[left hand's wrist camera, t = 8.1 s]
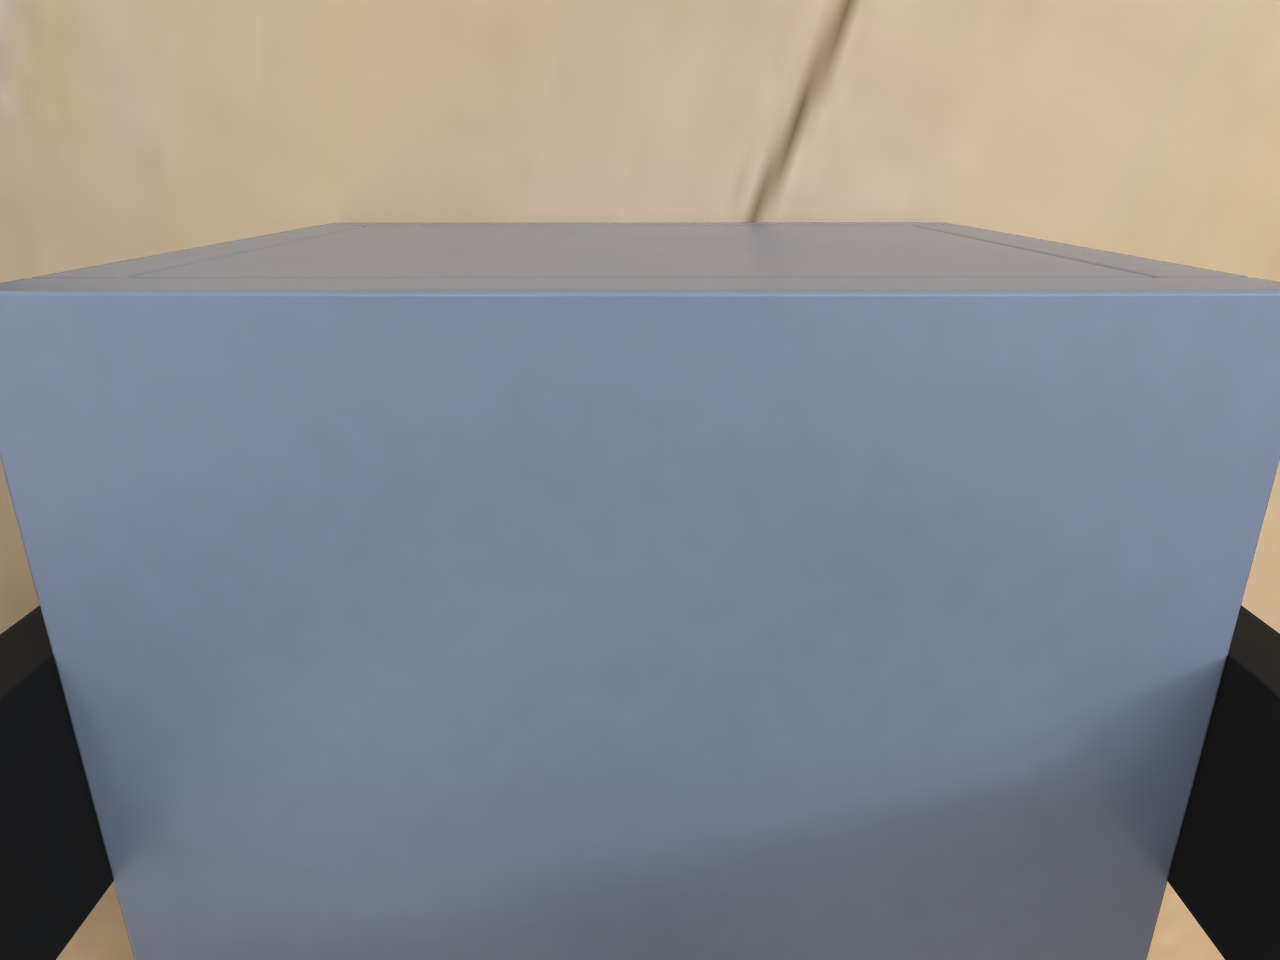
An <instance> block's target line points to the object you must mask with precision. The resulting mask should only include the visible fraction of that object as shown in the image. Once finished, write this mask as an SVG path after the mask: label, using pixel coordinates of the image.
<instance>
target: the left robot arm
mask: <svg viewBox="0 0 1280 960" xmlns="http://www.w3.org/2000/svg"><path fill="white" fill-rule="evenodd" d="M113 881H114V880H113V877H112V873H111V869H110V865H109V862H108V858H107V854H106V850H105V847H104V843H103V839H102V835H101V832H100V828H99V824H98V820H97V817H96V813H95V809H94V805H93V802H92V798H91V794H90V791H89V787H88V783H87V779H86V776H85V772H84V768H83V764H82V761H81V757H80V753H79V749H78V746H77V742H76V738H75V734H74V731H73V727H72V723H71V719H70V716H69V712H68V708H67V704H66V701H65V697H64V693H63V689H62V686H61V682H60V678H59V675H58V671H57V667H56V663H55V660H54V656H53V652H52V648H51V645H50V641H49V637H48V633H47V630H46V626H45V622H44V618H43V615H42V611H41V607H40V606H38V607H37V608H36V609H34V610H33V611H32V612H30V613H29V614H28V615H26V616H25V617H24V618H22V619H21V620H20V621H18V622H17V623H15V624H14V625H13V626H11V627H10V628H9V629H7V630H6V631H5V632H3V633H2V634H1V635H0V960H56V959H57V957H58V956H59V954H60V953H61V952H62V950H63V949H64V948H65V946H66V945H67V944H68V942H69V941H70V939H71V938H72V937H73V935H74V934H75V933H76V931H77V930H78V928H79V927H80V926H81V924H82V923H83V922H84V920H85V919H86V918H87V916H88V915H89V913H90V912H91V911H92V909H93V908H94V907H95V905H96V904H97V903H98V901H99V900H100V898H101V897H102V896H103V894H104V893H105V892H106V890H107V889H108V888H109V886H110V885H111V883H112V882H113ZM1167 881H1168V882H1169V883H1170V885H1171V886H1172V888H1173V889H1174V890H1175V892H1176V893H1177V894H1178V896H1179V897H1180V898H1181V900H1182V901H1183V903H1184V904H1185V905H1186V907H1187V908H1188V909H1189V911H1190V912H1191V913H1192V915H1193V916H1194V918H1195V919H1196V920H1197V922H1198V923H1199V924H1200V926H1201V927H1202V929H1203V930H1204V931H1205V933H1206V934H1207V935H1208V937H1209V938H1210V939H1211V941H1212V942H1213V944H1214V945H1215V946H1216V948H1217V949H1218V950H1219V952H1220V953H1221V954H1222V956H1223V957H1224V959H1225V960H1280V634H1279V633H1278V632H1276V631H1275V630H1274V629H1272V628H1271V627H1270V626H1268V625H1267V624H1266V623H1264V622H1263V621H1262V620H1260V619H1259V618H1257V617H1256V616H1255V615H1253V614H1252V613H1251V612H1249V611H1248V610H1247V609H1245V608H1244V607H1243V606H1240V610H1239V614H1238V618H1237V621H1236V625H1235V629H1234V633H1233V636H1232V640H1231V644H1230V648H1229V651H1228V655H1227V659H1226V663H1225V666H1224V670H1223V674H1222V678H1221V681H1220V685H1219V689H1218V693H1217V696H1216V700H1215V704H1214V708H1213V711H1212V715H1211V719H1210V723H1209V726H1208V730H1207V734H1206V738H1205V742H1204V745H1203V749H1202V753H1201V757H1200V760H1199V764H1198V768H1197V772H1196V775H1195V779H1194V783H1193V787H1192V790H1191V794H1190V798H1189V802H1188V805H1187V809H1186V813H1185V817H1184V820H1183V824H1182V828H1181V832H1180V835H1179V839H1178V843H1177V847H1176V850H1175V854H1174V858H1173V862H1172V865H1171V869H1170V873H1169V877H1168V880H1167Z"/></svg>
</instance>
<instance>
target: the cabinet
mask: <svg viewBox="0 0 1280 960" xmlns="http://www.w3.org/2000/svg"><path fill="white" fill-rule="evenodd" d="M0 457H1V461H2V465H3V469H4V472H5V476H6V480H7V484H8V487H9V491H10V495H11V499H12V502H13V506H14V510H15V514H16V517H17V521H18V525H19V529H20V532H21V536H22V540H23V544H24V547H25V551H26V555H27V559H28V562H29V566H30V570H31V573H32V577H33V581H34V585H35V588H36V592H37V596H38V600H39V603H40V607H41V611H42V615H43V618H44V622H45V626H46V630H47V633H48V637H49V641H50V645H51V648H52V652H53V656H54V660H55V663H56V667H57V671H58V675H59V678H60V682H61V686H62V689H63V693H64V697H65V701H66V704H67V708H68V712H69V716H70V719H71V723H72V727H73V731H74V734H75V738H76V742H77V746H78V749H79V753H80V757H81V761H82V764H83V768H84V772H85V776H86V779H87V783H88V787H89V791H90V794H91V798H92V802H93V805H94V809H95V813H96V817H97V820H98V824H99V828H100V832H101V835H102V839H103V843H104V847H105V850H106V854H107V858H108V862H109V865H110V869H111V873H112V877H113V880H114V884H115V888H116V892H117V895H118V899H119V903H120V907H121V910H122V914H123V918H124V921H125V925H126V929H127V933H128V936H129V940H130V944H131V948H132V951H133V955H134V959H135V960H1146V959H1147V956H1148V952H1149V948H1150V944H1151V941H1152V937H1153V933H1154V929H1155V926H1156V922H1157V918H1158V914H1159V911H1160V907H1161V903H1162V899H1163V895H1164V892H1165V888H1166V884H1167V880H1168V877H1169V873H1170V869H1171V865H1172V862H1173V858H1174V854H1175V850H1176V847H1177V843H1178V839H1179V835H1180V832H1181V828H1182V824H1183V820H1184V817H1185V813H1186V809H1187V805H1188V802H1189V798H1190V794H1191V790H1192V787H1193V783H1194V779H1195V775H1196V772H1197V768H1198V764H1199V760H1200V757H1201V753H1202V749H1203V745H1204V742H1205V738H1206V734H1207V730H1208V726H1209V723H1210V719H1211V715H1212V711H1213V708H1214V704H1215V700H1216V696H1217V693H1218V689H1219V685H1220V681H1221V678H1222V674H1223V670H1224V666H1225V663H1226V659H1227V655H1228V651H1229V648H1230V644H1231V640H1232V636H1233V633H1234V629H1235V625H1236V621H1237V618H1238V614H1239V610H1240V606H1241V603H1242V599H1243V595H1244V591H1245V588H1246V584H1247V580H1248V576H1249V573H1250V569H1251V565H1252V561H1253V557H1254V554H1255V550H1256V546H1257V542H1258V539H1259V535H1260V531H1261V527H1262V524H1263V520H1264V516H1265V512H1266V509H1267V505H1268V501H1269V497H1270V494H1271V490H1272V486H1273V482H1274V479H1275V475H1276V471H1277V467H1278V464H1279V460H1280V282H1275V281H1270V280H1264V279H1258V278H1248V277H1246V276H1241V275H1236V274H1230V273H1224V272H1219V271H1213V270H1208V269H1202V268H1197V267H1191V266H1185V265H1180V264H1174V263H1169V262H1163V261H1158V260H1152V259H1147V258H1141V257H1135V256H1130V255H1124V254H1119V253H1113V252H1108V251H1102V250H1096V249H1091V248H1085V247H1080V246H1074V245H1069V244H1063V243H1057V242H1052V241H1046V240H1041V239H1035V238H1030V237H1024V236H1018V235H1013V234H1007V233H1002V232H996V231H991V230H985V229H980V228H974V227H968V226H960V225H956V224H950V223H332V224H326V225H321V226H314V227H308V228H303V229H297V230H292V231H286V232H280V233H275V234H269V235H264V236H258V237H253V238H247V239H242V240H236V241H231V242H225V243H220V244H214V245H209V246H203V247H198V248H192V249H187V250H181V251H176V252H170V253H165V254H159V255H154V256H148V257H142V258H137V259H131V260H126V261H120V262H115V263H109V264H104V265H98V266H93V267H87V268H82V269H76V270H71V271H65V272H60V273H54V274H49V275H43V276H38V277H33V278H31V279H21V280H16V281H10V282H5V283H0Z"/></svg>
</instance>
